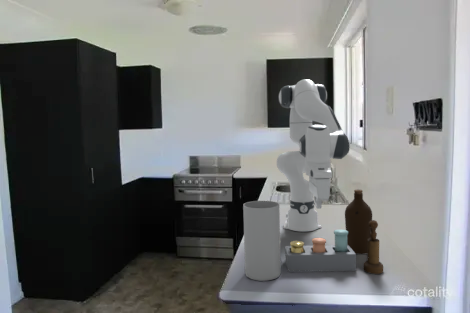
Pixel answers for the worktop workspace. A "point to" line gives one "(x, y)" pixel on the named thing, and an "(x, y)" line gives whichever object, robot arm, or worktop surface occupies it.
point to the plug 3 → (340, 240)
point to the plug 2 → (318, 245)
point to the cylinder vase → (262, 240)
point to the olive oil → (358, 223)
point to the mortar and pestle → (373, 252)
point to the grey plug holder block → (320, 260)
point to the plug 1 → (296, 246)
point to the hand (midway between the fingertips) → (318, 207)
